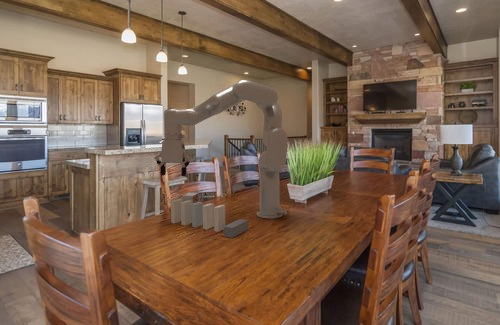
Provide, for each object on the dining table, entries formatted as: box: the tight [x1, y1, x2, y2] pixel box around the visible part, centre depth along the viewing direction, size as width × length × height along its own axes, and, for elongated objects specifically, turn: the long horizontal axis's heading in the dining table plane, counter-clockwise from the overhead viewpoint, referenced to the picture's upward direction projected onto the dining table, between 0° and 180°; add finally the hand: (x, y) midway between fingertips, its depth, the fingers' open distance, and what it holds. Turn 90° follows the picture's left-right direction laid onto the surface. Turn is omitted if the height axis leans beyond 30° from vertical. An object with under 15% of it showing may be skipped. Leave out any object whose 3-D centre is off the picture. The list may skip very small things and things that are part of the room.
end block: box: [223, 218, 249, 239], centre depth 124 cm, size 4×12×4 cm, turn 150°
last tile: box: [213, 204, 226, 233], centre depth 128 cm, size 2×5×10 cm, turn 150°
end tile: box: [170, 198, 182, 224], centre depth 140 cm, size 2×5×10 cm, turn 150°
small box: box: [181, 192, 200, 204], centre depth 151 cm, size 8×6×10 cm
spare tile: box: [191, 201, 204, 228], centre depth 134 cm, size 2×5×10 cm, turn 150°
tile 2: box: [180, 200, 192, 226], centre depth 137 cm, size 2×5×10 cm, turn 150°
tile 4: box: [202, 202, 215, 231], centre depth 131 cm, size 2×5×10 cm, turn 150°
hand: (173, 175), depth 139 cm, fingers open, 9 cm apart
